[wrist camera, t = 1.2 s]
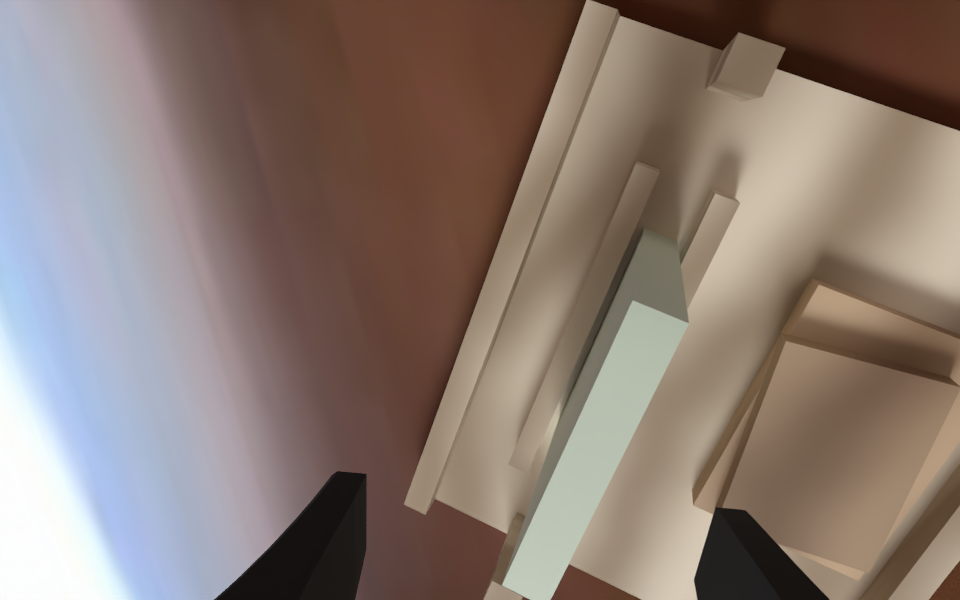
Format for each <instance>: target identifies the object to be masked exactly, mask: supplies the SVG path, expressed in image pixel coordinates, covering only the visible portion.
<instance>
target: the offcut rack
mask: <svg viewBox="0 0 960 600" xmlns="http://www.w3.org/2000/svg"><path fill="white" fill-rule="evenodd" d="M785 49H786V48H784V47H781V46H778V45H775V44H772V43H769V42H766V41H763V40H760V39H757V38H754V37H751V36H748V35H745V34H742V33H739V32H738V34H737V35H736V36H735V37H734V38H733V39H732V41H731V42H730V43H729V44H728V45H727V46H726V48H725V49H724V50H723V51H722V50H719V49H716V48H713V47H710V46H707V45H704V44H702V43H699V42H696V41H693V40H690V39H687V38H684V37H681V36H678V35H675V34H672V33H669V32H666V31H663V30H660V29H657V28H654V27H651V26H648V25H646V24H643V23H640V22H637V21H634V20H631V19H628V18H625V17H622V16H620V14H619V11H618V9H615V8H612V7H609V6H606V5H603V4H600V3H597V2H594V1H591V0H586V3H585V6H584V9H583V11H582V14H581V17H580V20H579V22H578V25H577V28H576V31H575V33H574V36H573V39H572V42H571V44H570V47H569V50H568V53H567V55H566V58H565V61H564V64H563V66H562V69H561V72H560V75H559V78H558V80H557V83H556V86H555V89H554V91H553V94H552V97H551V100H550V102H549V105H548V108H547V111H546V113H545V116H544V119H543V122H542V124H541V127H540V130H539V133H538V135H537V138H536V141H535V144H534V147H533V149H532V152H531V155H530V158H529V160H528V163H527V166H526V169H525V171H524V174H523V177H522V180H521V182H520V185H519V188H518V191H517V193H516V196H515V199H514V202H513V204H512V207H511V210H510V213H509V216H508V218H507V221H506V224H505V227H504V229H503V232H502V235H501V238H500V240H499V243H498V246H497V249H496V251H495V254H494V257H493V260H492V262H491V265H490V268H489V271H488V274H487V276H486V279H485V282H484V285H483V287H482V290H481V293H480V296H479V298H478V301H477V304H476V307H475V309H474V312H473V315H472V318H471V320H470V323H469V326H468V329H467V331H466V334H465V337H464V340H463V343H462V345H461V348H460V351H459V354H458V356H457V359H456V362H455V365H454V367H453V370H452V373H451V376H450V378H449V381H448V384H447V387H446V389H445V392H444V395H443V398H442V400H441V403H440V406H439V409H438V412H437V414H436V417H435V420H434V423H433V425H432V428H431V431H430V434H429V436H428V439H427V442H426V445H425V447H424V450H423V453H422V456H421V458H420V461H419V464H418V467H417V469H416V472H415V475H414V478H413V481H412V483H411V486H410V489H409V492H408V494H407V497H406V500H405V503H404V505H406V506H408V507H410V508H413V509H415V510H417V511H419V512H421V513H423V514H425V515H426V513H427V511H428V510H429V508H430V506H431V505H432V503H433V501H434V500H435V499H437V500H439V501H441V502H443V503H445V504H447V505H449V506H451V507H453V508H455V509H457V510H459V511H461V512H464V513H466V514H468V515H470V516H472V517H474V518H476V519H478V520H480V521H482V522H484V523H486V524H488V525H490V526H492V527H494V528H496V529H498V530H500V531H502V532H505V533H507V537H506V539H505V542H504V545H503V547H502V550H501V553H500V555H499V558H498V561H497V563H496V566H495V569H494V572H493V574H492V577H491V580H490V582H489V585H488V588H487V590H486V593H485V596H484V598H483V600H522V598H523V596H522V595H520V594H518V593H516V592H514V591H512V590H510V589H508V588H506V587H504V586H502V583H503V581H504V578H505V575H506V572H507V569H508V566H509V563H510V560H511V557H512V554H513V551H514V548H515V546H516V543H517V540H518V537H519V534H520V531H521V528H522V525H523V522H524V519H525V516H526V513H527V510H528V508H529V505H530V502H531V499H532V496H533V493H534V490H535V487H536V484H537V481H538V478H539V475H540V473H541V470H542V467H543V464H544V461H545V458H546V455H547V452H548V449H549V446H550V443H551V440H552V437H553V435H554V432H555V429H556V426H557V423H558V420H559V417H560V415H561V413H562V410H563V408H564V406H565V404H566V401H567V399H568V397H569V395H570V392H571V390H572V388H573V386H574V384H575V381H576V379H577V377H578V375H579V372H580V370H581V368H582V366H583V363H584V361H585V359H586V357H587V354H588V352H589V350H590V348H591V345H592V343H593V341H594V339H595V336H596V334H597V332H598V330H599V327H600V325H601V323H602V321H603V318H604V316H605V314H606V312H607V309H608V307H609V305H610V303H611V300H612V298H613V296H614V294H615V292H616V289H617V287H618V285H619V283H620V280H621V278H622V276H623V274H624V271H625V269H626V267H627V265H628V262H629V260H630V258H631V256H632V253H633V251H634V249H635V247H636V244H637V242H638V240H639V238H640V235H641V233H642V231H643V229H644V228H645V229H648V230H650V231H653V232H655V233H658V234H660V235H663V236H665V237H668V238H671V239H673V240H676V241H677V244H678V251H679V258H680V265H681V271H682V278H683V285H684V292H685V299H686V305H687V312H688V319H689V325H688V327H687V329H686V331H685V333H684V335H683V337H682V339H681V341H680V343H679V345H678V347H677V349H676V351H675V353H674V355H673V357H672V359H671V361H670V363H669V365H668V367H667V369H666V371H665V373H664V375H663V377H662V379H661V381H660V383H659V385H658V387H657V389H656V391H655V393H654V395H653V397H652V399H651V401H650V403H649V405H648V407H647V409H646V411H645V413H644V415H643V417H642V419H641V421H640V423H639V425H638V427H637V429H636V431H635V433H634V435H633V437H632V439H631V441H630V443H629V445H628V447H627V449H626V451H625V453H624V455H623V457H622V459H621V461H620V462H619V464H618V466H617V468H616V470H615V472H614V474H613V476H612V478H611V480H610V482H609V484H608V486H607V488H606V490H605V492H604V494H603V496H602V498H601V500H600V502H599V504H598V506H597V508H596V510H595V512H594V514H593V516H592V518H591V520H590V522H589V524H588V526H587V528H586V530H585V532H584V534H583V536H582V538H581V540H580V542H579V544H578V546H577V548H576V550H575V552H574V554H573V556H572V558H571V560H570V562H569V564H570V565H572V566H574V567H576V568H578V569H580V570H582V571H584V572H586V573H589V574H591V575H593V576H595V577H597V578H599V579H601V580H603V581H605V582H607V583H609V584H611V585H613V586H615V587H617V588H619V589H621V590H623V591H625V592H627V593H629V594H632V595H634V596H636V597H638V598H640V599H642V600H697V595H696V589H695V584H694V577H695V574H696V571H697V567H698V564H699V561H700V557H701V554H702V551H703V547H704V544H705V541H706V537H707V534H708V531H709V527H710V524H711V521H712V517H713V514H711V513H709V512H706V511H704V510H702V509H700V508H698V507H696V506H693V498H692V489H693V487H694V486H695V484H696V482H697V480H698V479H699V477H700V475H701V473H702V471H703V470H704V468H705V466H706V464H707V462H708V461H709V459H710V457H711V455H712V454H713V452H714V450H715V448H716V446H717V445H718V443H719V441H720V439H721V438H722V436H723V434H724V432H725V430H726V429H727V427H728V425H729V423H730V422H731V420H732V418H733V416H734V414H735V413H736V411H737V409H738V407H739V406H740V404H741V402H742V400H743V398H744V397H745V395H746V393H747V391H748V390H749V388H750V386H751V384H752V382H753V381H754V379H755V377H756V375H757V374H758V372H759V370H760V368H761V366H762V365H763V363H764V361H765V359H766V358H767V356H768V354H769V352H770V350H771V349H772V347H773V345H774V343H775V342H776V340H777V338H778V336H779V334H780V333H781V331H782V329H783V327H784V326H785V324H786V322H787V320H788V318H789V317H790V315H791V313H792V311H793V310H794V308H795V306H796V304H797V302H798V301H799V299H800V297H801V295H802V294H803V292H804V290H805V288H806V286H807V285H808V283H809V281H810V279H811V277H812V278H815V279H817V280H820V281H822V282H825V283H828V284H830V285H833V286H835V287H838V288H840V289H843V290H846V291H848V292H851V293H853V294H856V295H859V296H861V297H864V298H866V299H869V300H871V301H874V302H877V303H879V304H882V305H884V306H887V307H889V308H892V309H895V310H897V311H900V312H902V313H905V314H907V315H910V316H913V317H915V318H918V319H920V320H923V321H926V322H928V323H931V324H933V325H936V326H938V327H941V328H944V329H946V330H949V331H951V332H954V333H956V334H959V335H960V131H958V130H955V129H952V128H949V127H946V126H943V125H940V124H937V123H934V122H931V121H928V120H926V119H923V118H920V117H917V116H914V115H911V114H908V113H905V112H902V111H899V110H896V109H893V108H890V107H887V106H884V105H881V104H878V103H875V102H872V101H870V100H867V99H864V98H861V97H858V96H855V95H852V94H849V93H846V92H843V91H840V90H837V89H834V88H831V87H828V86H825V85H822V84H819V83H816V82H814V81H811V80H808V79H805V78H802V77H799V76H796V75H793V74H790V73H787V72H784V71H781V70H778V69H776V68H777V66H778V63H779V61H780V59H781V57H782V55H783V53H784V51H785ZM778 545H779V544H778ZM779 546H780V547H781V549H782V550H783V551H784V552H785V553H786V554H787V555H788V556H789V557H790V558H791V559H792V560H793V561H794V563H795V564H796V565H797V566H798V567H799V568H800V569H801V570H802V571H803V572H804V573H805V574H806V575H807V576H808V577H809V578H810V580H811V581H812V582H813V583H814V584H815V585H816V586H817V587H818V588H819V589H820V590H821V591H822V592H823V593H824V594H825V595H826V596H827V597H828V598H829V599H830V600H929V599H930V597H931V596H932V595H933V593H934V592H935V591H936V590H937V588H938V587H939V586H940V585H941V583H942V582H943V581H944V580H945V578H946V577H947V576H948V574H949V573H950V572H951V571H952V569H953V568H954V567H955V566H956V564H957V563H958V562H959V561H960V442H959V443H958V445H957V446H956V447H955V449H954V450H953V452H952V453H951V454H950V456H949V457H948V458H947V460H946V461H945V463H944V464H943V465H942V467H941V468H940V469H939V471H938V472H937V474H936V475H935V476H934V478H933V479H932V480H931V482H930V483H929V485H928V486H927V487H926V489H925V490H924V491H923V493H922V494H921V496H920V497H919V498H918V500H917V501H916V502H915V504H914V505H913V507H912V508H911V509H910V511H909V512H908V513H907V515H906V516H905V518H904V519H903V520H902V522H901V523H900V524H899V526H898V527H897V529H896V530H895V531H894V533H893V534H892V535H891V537H890V538H889V540H888V541H887V542H886V544H885V545H884V547H883V548H882V549H881V551H880V553H879V555H878V557H877V559H876V561H875V563H874V565H873V567H872V569H871V571H870V573H867V572H865V573H864V574H863V575H862V577H861V578H860V580H859V581H857V580H855V579H853V578H851V577H849V576H846V575H844V574H842V573H840V572H838V571H835V570H833V569H831V568H829V567H827V566H824V565H822V564H820V563H818V562H816V561H814V560H811V559H809V558H807V557H805V556H803V555H800V554H798V553H796V552H794V551H792V550H790V549H787V548H785V547H783V546H781V545H779Z"/></svg>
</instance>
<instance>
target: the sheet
mask: <svg viewBox="0 0 960 600" xmlns="http://www.w3.org/2000/svg"><path fill="white" fill-rule="evenodd" d="M688 325H689V319H688V312H687V305H686V299H685V292H684V285H683V278H682V271H681V265H680V258H679V251H678V244H677V241H676V240H673V239H671V238H668V237H665V236H663V235H660V234H658V233H655V232H653V231H650V230H648V229H645V228H644V229H643V231H642V233H641V235H640V238H639V240H638V242H637V244H636V247H635V249H634V251H633V253H632V256H631V258H630V260H629V262H628V265H627V267H626V269H625V271H624V274H623V276H622V278H621V280H620V283H619V285H618V287H617V289H616V292H615V294H614V296H613V298H612V300H611V303H610V305H609V307H608V309H607V312H606V314H605V316H604V318H603V321H602V323H601V325H600V327H599V330H598V332H597V334H596V336H595V339H594V341H593V343H592V345H591V348H590V350H589V352H588V354H587V357H586V359H585V361H584V363H583V366H582V368H581V370H580V372H579V375H578V377H577V379H576V381H575V384H574V386H573V388H572V390H571V392H570V395H569V397H568V399H567V401H566V404H565V406H564V408H563V410H562V413H561V415H560V417H559V420H558V423H557V426H556V429H555V432H554V435H553V437H552V440H551V443H550V446H549V449H548V452H547V455H546V458H545V461H544V464H543V467H542V470H541V473H540V475H539V478H538V481H537V484H536V487H535V490H534V493H533V496H532V499H531V502H530V505H529V508H528V510H527V513H526V516H525V519H524V522H523V525H522V528H521V531H520V534H519V537H518V540H517V543H516V546H515V548H514V551H513V554H512V557H511V560H510V563H509V566H508V569H507V572H506V575H505V578H504V581H503V583H502V586H504V587H506V588H508V589H510V590H512V591H514V592H516V593H518V594H520V595H522V596H524V597H526V598H528V599H530V600H551V598H552V596H553V594H554V592H555V590H556V588H557V586H558V584H559V582H560V580H561V578H562V576H563V574H564V572H565V570H566V568H567V566H568V564H569V562H570V560H571V558H572V556H573V554H574V552H575V550H576V548H577V546H578V544H579V542H580V540H581V538H582V536H583V534H584V532H585V530H586V528H587V526H588V524H589V522H590V520H591V518H592V516H593V514H594V512H595V510H596V508H597V506H598V504H599V502H600V500H601V498H602V496H603V494H604V492H605V490H606V488H607V486H608V484H609V482H610V480H611V478H612V476H613V474H614V472H615V470H616V468H617V466H618V464H619V462H620V461H621V459H622V457H623V455H624V453H625V451H626V449H627V447H628V445H629V443H630V441H631V439H632V437H633V435H634V433H635V431H636V429H637V427H638V425H639V423H640V421H641V419H642V417H643V415H644V413H645V411H646V409H647V407H648V405H649V403H650V401H651V399H652V397H653V395H654V393H655V391H656V389H657V387H658V385H659V383H660V381H661V379H662V377H663V375H664V373H665V371H666V369H667V367H668V365H669V363H670V361H671V359H672V357H673V355H674V353H675V351H676V349H677V347H678V345H679V343H680V341H681V339H682V337H683V335H684V333H685V331H686V329H687V327H688Z"/></svg>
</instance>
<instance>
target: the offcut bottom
mask: <svg viewBox="0 0 960 600" xmlns="http://www.w3.org/2000/svg"><path fill="white" fill-rule="evenodd" d="M781 333H783V334H787V335H791V336H794V337H798V338H802V339H806V340H810V341H813V342H817V343H821V344H825V345H829V346H832V347H836V348H840V349H844V350H848V351H851V352H855V353H859V354H863V355H867V356H870V357H874V358H878V359H882V360H886V361H890V362H893V363H897V364H901V365H905V366H909V367H912V368H916V369H920V370H924V371H928V372H931V373H935V374H939V375H943V376H947V377H950V378H951V379H952V380H953V381H955V382H956V383H957V384H958V385H959V386H960V335H959V334H956V333H954V332H951V331H949V330H946V329H944V328H941V327H938V326H936V325H933V324H931V323H928V322H926V321H923V320H920V319H918V318H915V317H913V316H910V315H907V314H905V313H902V312H900V311H897V310H895V309H892V308H889V307H887V306H884V305H882V304H879V303H877V302H874V301H871V300H869V299H866V298H864V297H861V296H859V295H856V294H853V293H851V292H848V291H846V290H843V289H840V288H838V287H835V286H833V285H830V284H828V283H825V282H822V281H820V280H817V279H815V278H812V277H811V279H810V281H809V283H808V285H807V286H806V288H805V290H804V292H803V294H802V295H801V297H800V299H799V301H798V302H797V304H796V306H795V308H794V310H793V311H792V313H791V315H790V317H789V318H788V320H787V322H786V324H785V326H784V327H783V329H782V331H781ZM781 333H780V334H779V336H778V338H777V340H776V342H775V343H774V345H773V347H772V349H771V350H770V352H769V354H768V356H767V358H766V359H765V361H764V363H763V365H762V366H761V368H760V370H759V372H758V374H757V375H756V377H755V379H754V381H753V382H752V384H751V386H750V388H749V390H748V391H747V393H746V395H745V397H744V398H743V400H742V402H741V404H740V406H739V407H738V409H737V411H736V413H735V414H734V416H733V418H732V420H731V422H730V423H729V425H728V427H727V429H726V430H725V432H724V434H723V436H722V438H721V439H720V441H719V443H718V445H717V446H716V448H715V450H714V452H713V454H712V455H711V457H710V459H709V461H708V462H707V464H706V466H705V468H704V470H703V471H702V473H701V475H700V477H699V479H698V480H697V482H696V484H695V486H694V487H693V489H692V498H693V506H696V507H698V508H700V509H702V510H704V511H706V512H709V513H711V514H714V510H715V507H716V504H717V502H718V499H719V496H720V494H721V491H722V489H723V486H724V483H725V481H726V478H727V475H728V473H729V470H730V467H731V465H732V462H733V460H734V457H735V454H736V452H737V449H738V446H739V444H740V441H741V438H742V436H743V433H744V430H745V428H746V425H747V423H748V420H749V417H750V415H751V412H752V409H753V407H754V404H755V401H756V399H757V396H758V394H759V391H760V388H761V386H762V383H763V380H764V378H765V375H766V372H767V370H768V367H769V364H770V362H771V359H772V357H773V354H774V351H775V349H776V346H777V343H778V341H779V338H780V335H781ZM959 442H960V391H959V393H958V395H957V397H956V399H955V401H954V403H953V405H952V407H951V410H950V412H949V414H948V416H947V418H946V420H945V422H944V424H943V426H942V428H941V430H940V432H939V434H938V436H937V438H936V440H935V442H934V444H933V446H932V448H931V450H930V452H929V454H928V456H927V458H926V460H925V462H924V464H923V466H922V468H921V470H920V472H919V474H918V476H917V478H916V480H915V482H914V484H913V486H912V488H911V490H910V492H909V494H908V496H907V498H906V500H905V503H904V505H903V507H902V509H901V511H900V513H899V515H898V517H897V519H896V521H895V523H894V525H893V527H892V529H891V531H890V533H889V535H888V537H887V539H886V541H885V543H884V545H885V544H886V542H887V541H888V540H889V538H890V537H891V535H892V534H893V533H894V531H895V530H896V529H897V527H898V526H899V524H900V523H901V522H902V520H903V519H904V518H905V516H906V515H907V513H908V512H909V511H910V509H911V508H912V507H913V505H914V504H915V502H916V501H917V500H918V498H919V497H920V496H921V494H922V493H923V491H924V490H925V489H926V487H927V486H928V485H929V483H930V482H931V480H932V479H933V478H934V476H935V475H936V474H937V472H938V471H939V469H940V468H941V467H942V465H943V464H944V463H945V461H946V460H947V458H948V457H949V456H950V454H951V453H952V452H953V450H954V449H955V447H956V446H957V445H958V443H959ZM777 544H778V543H777ZM779 545H781V544H779ZM884 545H883V547H884ZM781 546H783V547H785V548H787V549H790V550H792V551H794V552H796V553H798V554H800V555H803V556H805V557H807V558H809V559H811V560H814V561H816V562H818V563H820V564H822V565H824V566H827V567H829V568H831V569H833V570H835V571H838V572H840V573H842V574H844V575H846V576H849V577H851V578H853V579H855V580H857V581H859V580H860V578H861V577H862V575H863V574H864V573H865V572H863V571H860V570H857V569H854V568H851V567H848V566H845V565H842V564H839V563H836V562H833V561H830V560H827V559H824V558H821V557H818V556H815V555H812V554H809V553H805V552H802V551H799V550H796V549H793V548H790V547H787V546H784V545H781ZM883 547H882V548H883Z"/></svg>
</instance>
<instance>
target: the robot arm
mask: <svg viewBox="0 0 960 600" xmlns="http://www.w3.org/2000/svg"><path fill="white" fill-rule="evenodd" d="M365 552H366V474H361V473H350V472H340V471H337V472H336V473H334V474H333V475H332V476H331V477H330V478H329V480H328V481H327V482H326V484H325V485H324V486H323V487H322V489H321V490H320V491H319V492H318V494H317V495H316V496H315V497H314V498H313V500H312V501H311V502H310V503H309V504H308V506H307V507H306V508H305V509H304V510H303V511H302V513H301V514H300V515H299V516H298V517H297V518H296V519H295V520H294V522H293V523H292V524H291V525H290V526H289V527H288V528H287V529H286V530H285V531H284V532H283V534H282V535H281V536H280V537H279V538H278V539H277V540H276V541H275V542H274V543H273V544H272V545H271V546H270V547H269V549H268V550H267V551H266V552H265V553H263V554H262V555H261V556H260V557H259V558H258V559H257V560H256V561H255V562H254V563H253V564H252V565H251V566H250V567H249V568H248V569H247V570H246V571H245V572H244V573H243V574H242V575H241V576H240V577H239V578H238V579H237V580H236V581H235V582H234V583H232V584H231V585H230V586H229V587H228V588H227V589H226V590H225V591H224V592H222V593H221V594H220V595H219V596H218V597H217V598H216V599H214V600H355V597H356V592H357V588H358V584H359V579H360V575H361V570H362V566H363V561H364V557H365ZM694 584H695V589H696V595H697V600H830V599H829V598H828V597H827V596H826V595H825V594H824V593H823V592H822V591H821V590H820V589H819V588H818V587H817V586H816V585H815V584H814V583H813V582H812V581H811V580H810V578H809V577H808V576H807V575H806V574H805V573H804V572H803V571H802V570H801V569H800V568H799V567H798V566H797V565H796V564H795V563H794V561H793V560H792V559H791V558H790V557H789V556H788V555H787V554H786V553H785V552H784V551H783V550H782V549H781V547H780V546H779V545H778V544H777V543H776V542H775V541H774V540H773V539H772V538H771V537H770V536H769V534H768V533H767V532H766V531H765V530H764V529H763V528H762V527H761V526H760V525H759V524H758V523H757V521H756V520H755V519H754V518H753V517H752V516H751V515H750V514H749V513H748V512H747V511H746V510H740V509H730V508H719V507H715V511H714V514H713V517H712V521H711V524H710V527H709V531H708V534H707V537H706V541H705V544H704V547H703V551H702V554H701V557H700V561H699V564H698V567H697V571H696V574H695V577H694Z"/></svg>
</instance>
